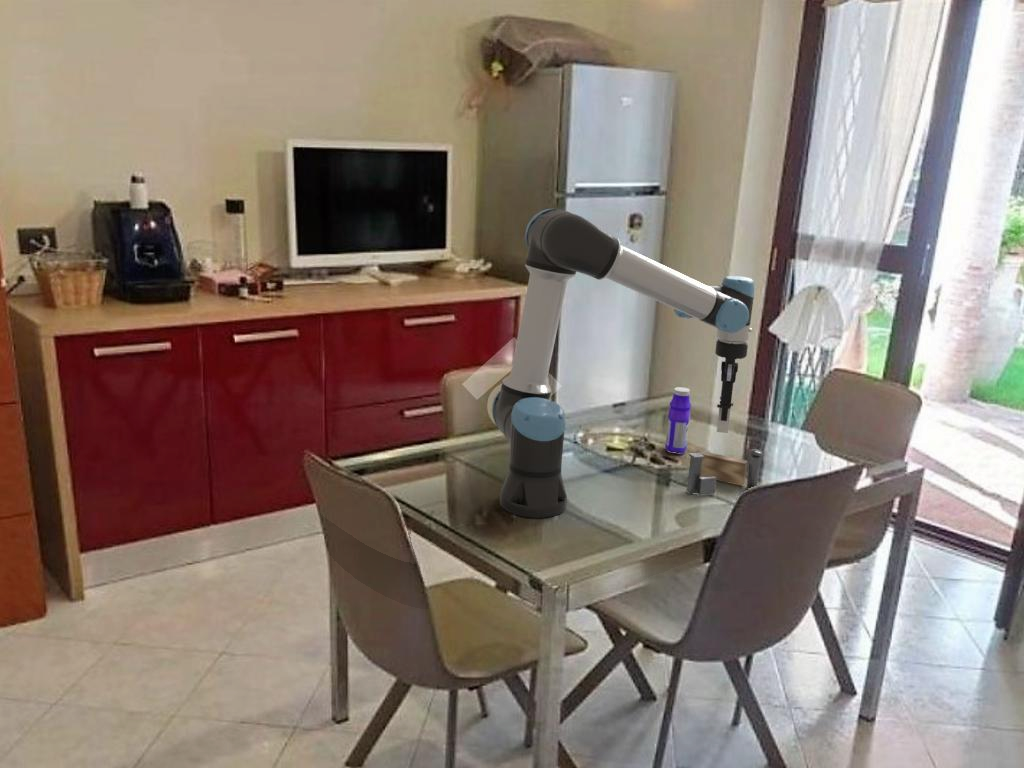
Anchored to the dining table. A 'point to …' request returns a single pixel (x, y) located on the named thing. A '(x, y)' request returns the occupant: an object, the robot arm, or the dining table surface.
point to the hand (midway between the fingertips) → (722, 431)
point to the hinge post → (754, 467)
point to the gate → (723, 468)
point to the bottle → (678, 421)
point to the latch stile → (695, 481)
